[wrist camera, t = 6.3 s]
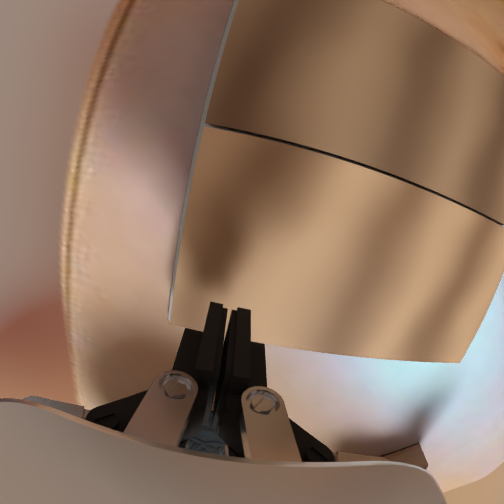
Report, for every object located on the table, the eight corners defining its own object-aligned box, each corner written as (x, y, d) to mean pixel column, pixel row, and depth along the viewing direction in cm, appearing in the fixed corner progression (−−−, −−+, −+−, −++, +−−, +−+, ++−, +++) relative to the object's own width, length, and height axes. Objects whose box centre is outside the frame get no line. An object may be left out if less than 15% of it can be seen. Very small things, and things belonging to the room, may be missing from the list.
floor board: (525, 110, 12) (540, 110, 10) (502, 224, 15) (517, 231, 14) (252, -22, 10) (251, -37, 9) (210, 124, 14) (204, 122, 12)
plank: (502, 227, 15) (516, 233, 14) (450, 351, 18) (459, 362, 17) (208, 129, 14) (204, 126, 12) (175, 309, 17) (169, 323, 15)
